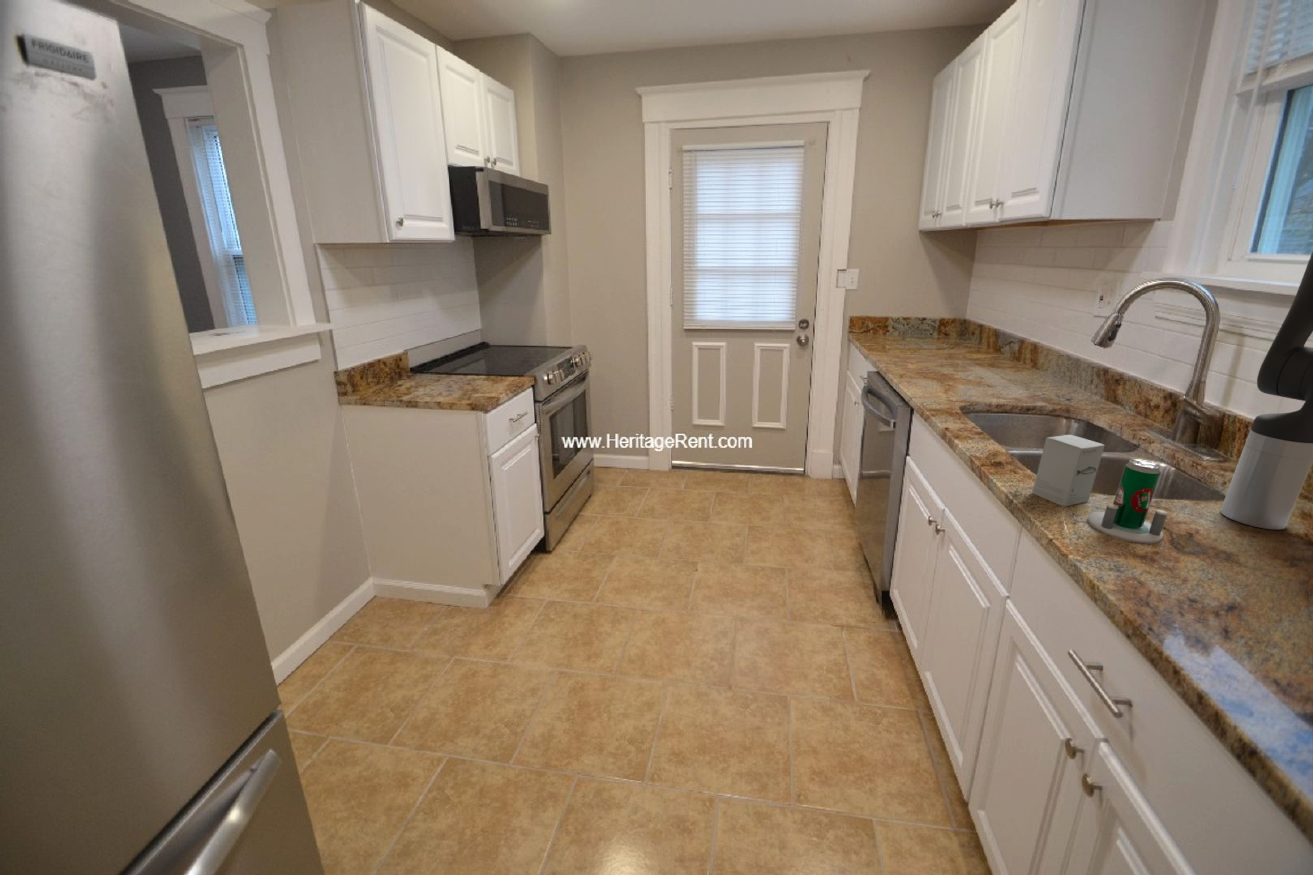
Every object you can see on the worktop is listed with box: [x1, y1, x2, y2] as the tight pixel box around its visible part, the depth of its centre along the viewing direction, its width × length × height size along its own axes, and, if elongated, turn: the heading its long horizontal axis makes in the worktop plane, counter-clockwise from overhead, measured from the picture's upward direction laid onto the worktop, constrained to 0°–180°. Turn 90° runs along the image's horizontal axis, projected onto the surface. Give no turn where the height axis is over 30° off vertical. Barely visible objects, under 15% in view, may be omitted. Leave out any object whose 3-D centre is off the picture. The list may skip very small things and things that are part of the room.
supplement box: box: [1031, 434, 1105, 507], centre depth 120 cm, size 7×7×13 cm
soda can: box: [1112, 458, 1162, 529], centre depth 107 cm, size 5×5×12 cm
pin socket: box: [1087, 495, 1169, 544], centre depth 108 cm, size 11×11×5 cm
